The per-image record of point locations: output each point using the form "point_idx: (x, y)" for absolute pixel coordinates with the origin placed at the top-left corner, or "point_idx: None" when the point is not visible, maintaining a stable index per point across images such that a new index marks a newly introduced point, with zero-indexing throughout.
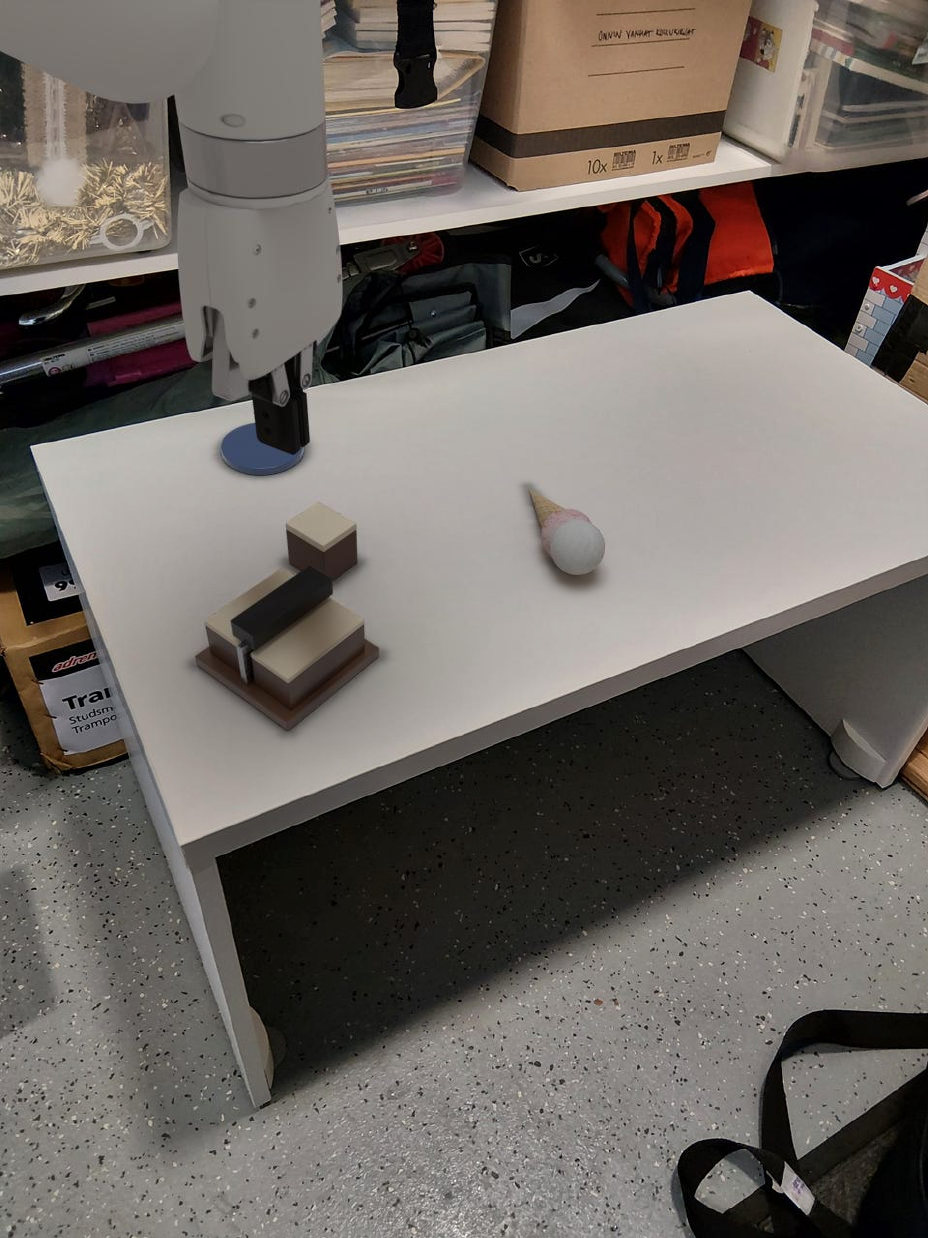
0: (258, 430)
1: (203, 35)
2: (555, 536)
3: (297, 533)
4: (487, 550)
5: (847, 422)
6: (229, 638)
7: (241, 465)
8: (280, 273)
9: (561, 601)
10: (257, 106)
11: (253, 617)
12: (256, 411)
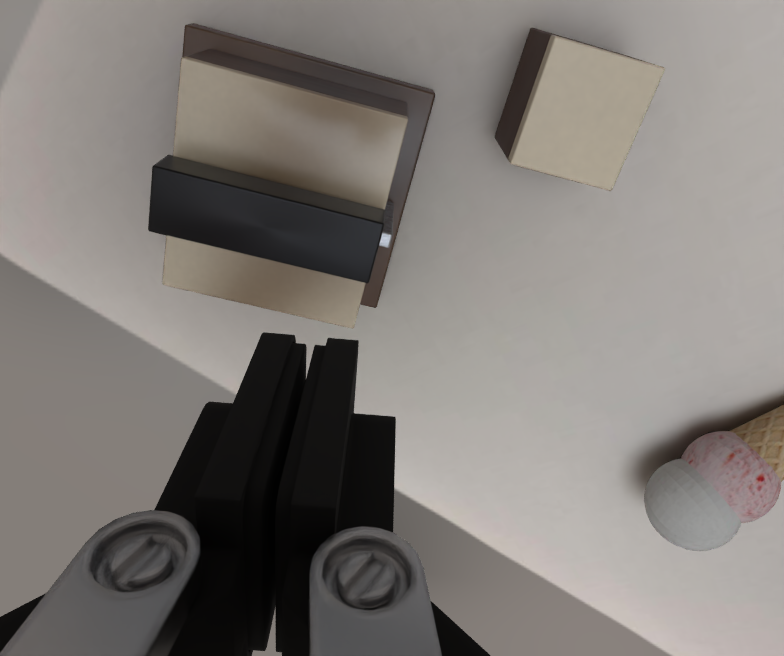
0: (200, 416)
1: None
2: (693, 491)
3: (537, 78)
4: (689, 347)
5: None
6: (174, 138)
7: None
8: None
9: (600, 470)
10: None
11: (187, 204)
12: (169, 482)
